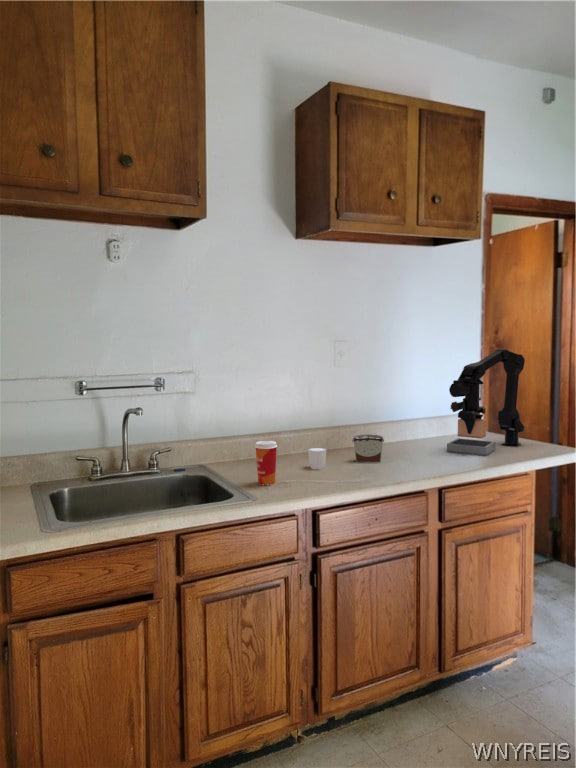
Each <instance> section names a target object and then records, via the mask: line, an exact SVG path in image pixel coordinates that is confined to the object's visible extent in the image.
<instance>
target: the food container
mask: <svg viewBox="0 0 576 768" xmlns="http://www.w3.org/2000/svg"><path fill="white" fill-rule="evenodd" d="M352 443H353V445H354V456H355V463H361V462H382V461H381V460H382V451H383V443H385V438H384V436H382V435H380V434H379V435H378V434H371V433H369V434H357V435H354V436H353V438H352Z"/></svg>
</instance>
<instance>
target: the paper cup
mask: <svg viewBox="0 0 576 768" xmlns="http://www.w3.org/2000/svg"><path fill="white" fill-rule="evenodd" d="M277 448H278V445H277V442H276V441H274V440H260V441H256V442H255V445H254V449H255V457H256V471H257V481H258V485H259V484H265V485H267V484H274V483H275V484H276V471H277ZM275 484H274V485H275Z"/></svg>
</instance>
